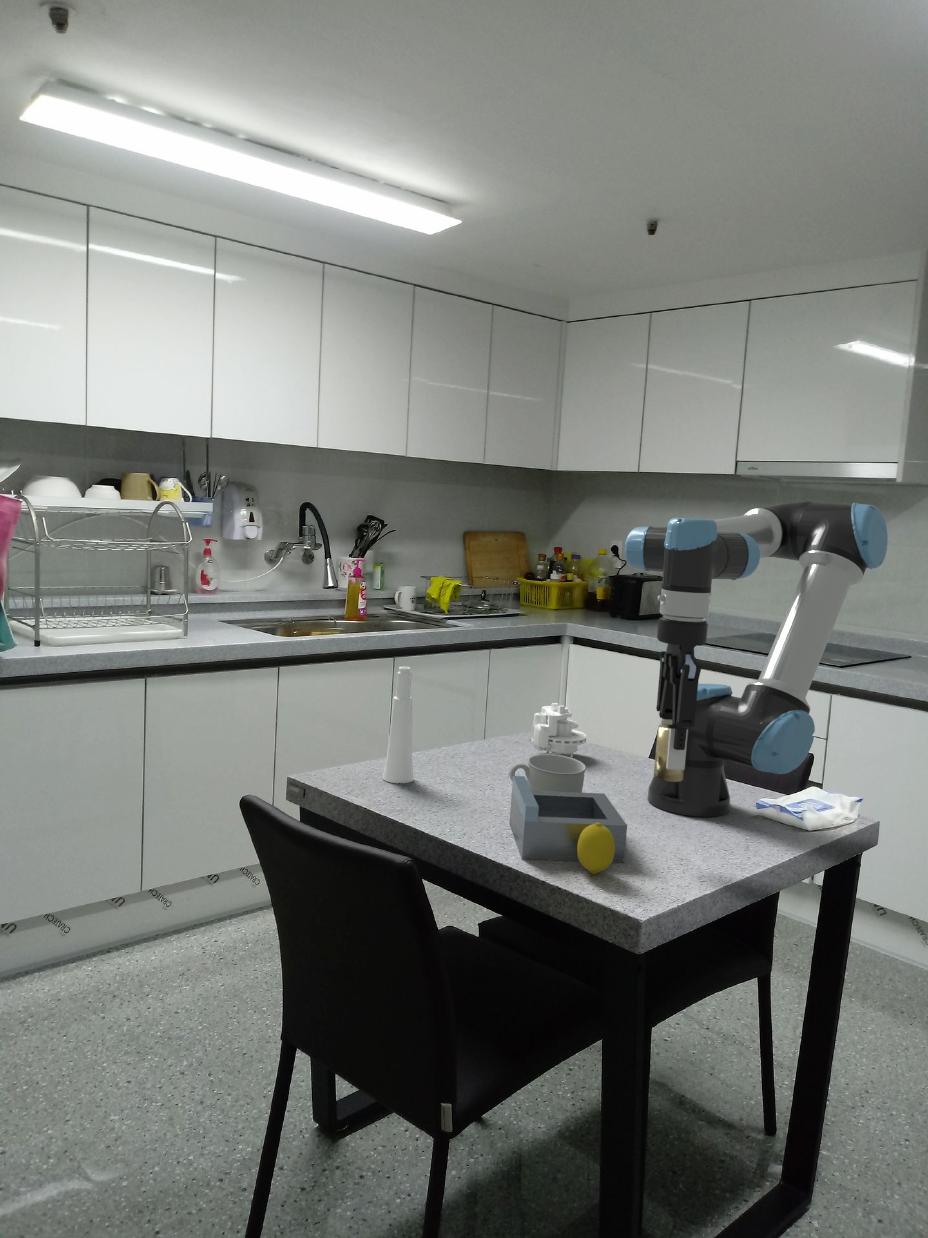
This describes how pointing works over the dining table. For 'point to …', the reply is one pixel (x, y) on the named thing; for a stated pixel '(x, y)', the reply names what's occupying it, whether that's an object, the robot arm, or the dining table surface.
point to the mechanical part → (556, 731)
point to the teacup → (552, 773)
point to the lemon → (596, 848)
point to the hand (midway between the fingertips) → (670, 763)
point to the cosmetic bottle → (400, 732)
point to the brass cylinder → (664, 758)
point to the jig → (560, 821)
